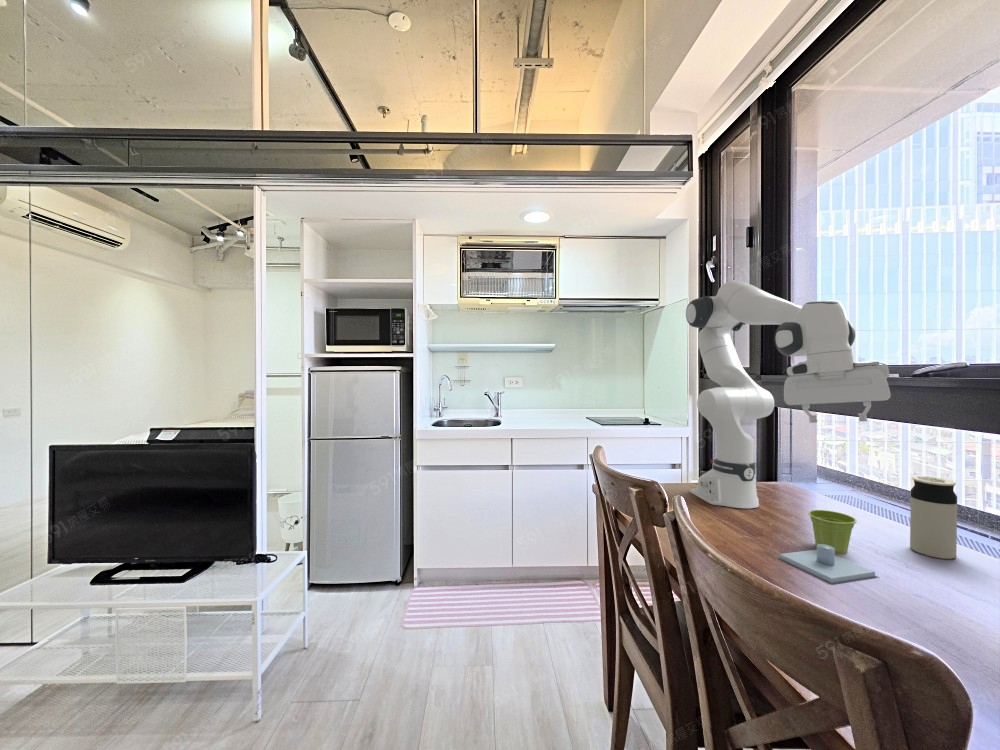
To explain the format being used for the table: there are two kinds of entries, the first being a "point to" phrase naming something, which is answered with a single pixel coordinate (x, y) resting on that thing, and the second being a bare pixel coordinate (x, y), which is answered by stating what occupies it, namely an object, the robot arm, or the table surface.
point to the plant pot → (832, 529)
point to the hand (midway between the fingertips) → (837, 421)
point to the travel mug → (933, 517)
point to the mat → (827, 581)
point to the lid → (827, 564)
